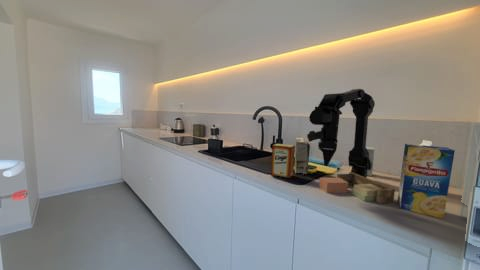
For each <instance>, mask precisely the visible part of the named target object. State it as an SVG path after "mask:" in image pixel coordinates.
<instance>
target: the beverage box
mask: <svg viewBox="0 0 480 270" xmlns="http://www.w3.org/2000/svg"><path fill="white" fill-rule="evenodd" d="M403 150H404V151H403V158H402V165H401V171H400V179H399V188H398V194H397V200H396V201H397V204H398V207H399V209H400V210H405V211H410V212H414V213H418V214H421V215H427V216H431V217H435V218H440V219H443V218H445V212H446V208H447V207H446V206H447V199H448V194H449V189H450V183H451V177H452V176H451V175H452V170H453V165H454V164H453V163H454V157H455V151H456V150H454V149H452V148H449V147H447V146H434V145H432V146H424V145H419V144H412V143H411V144H410V143H404V149H403Z"/></svg>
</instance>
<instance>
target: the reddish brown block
mask: <svg viewBox="0 0 480 270" xmlns="http://www.w3.org/2000/svg"><path fill="white" fill-rule="evenodd" d="M318 184H319V185H318V186H319V187H318V188H319V189H321V190H322V191H324V192H325V193H326V194H334V193H335V194H340V193H341V194H342V193H343V194H347V193H348V190H349V185H348V182H346V181H344V180H343V179H341V178H337V177H319V183H318Z"/></svg>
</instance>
